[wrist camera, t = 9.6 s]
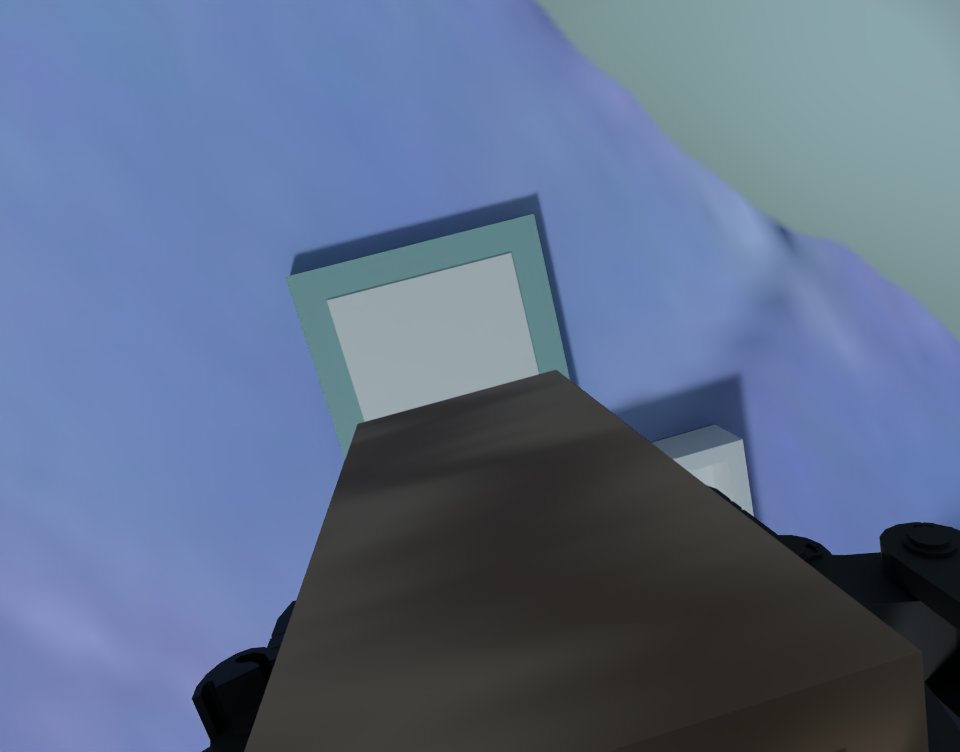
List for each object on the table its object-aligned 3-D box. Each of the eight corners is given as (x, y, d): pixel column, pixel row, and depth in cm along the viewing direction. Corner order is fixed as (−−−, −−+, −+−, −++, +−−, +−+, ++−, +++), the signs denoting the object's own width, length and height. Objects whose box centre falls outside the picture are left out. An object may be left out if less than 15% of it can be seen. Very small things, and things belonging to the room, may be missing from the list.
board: (362, 500, 39) (360, 508, 37) (289, 276, 35) (284, 277, 34) (579, 439, 40) (584, 445, 38) (529, 215, 36) (534, 213, 35)
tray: (501, 773, 45) (508, 815, 41) (421, 508, 39) (422, 531, 36) (756, 691, 46) (784, 726, 43) (715, 424, 41) (742, 439, 37)
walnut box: (413, 600, 17) (412, 1331, 5) (357, 423, 16) (194, 892, 4) (595, 547, 18) (960, 1122, 6) (556, 369, 16) (930, 657, 4)
